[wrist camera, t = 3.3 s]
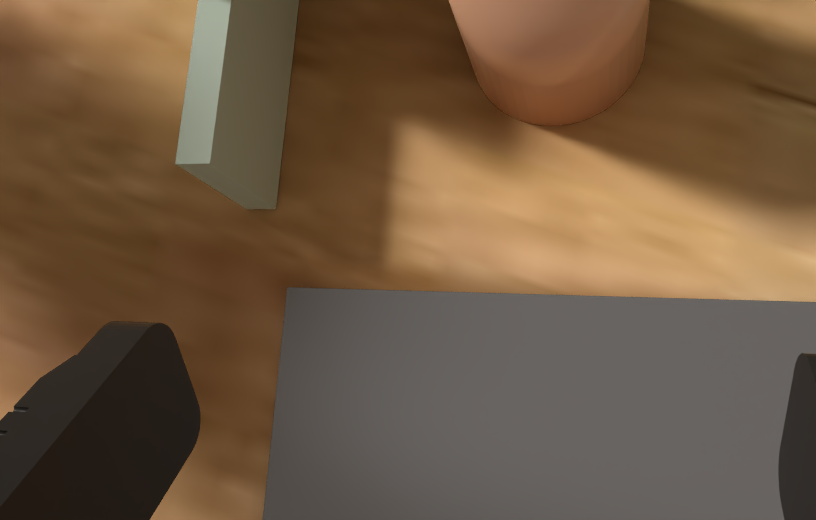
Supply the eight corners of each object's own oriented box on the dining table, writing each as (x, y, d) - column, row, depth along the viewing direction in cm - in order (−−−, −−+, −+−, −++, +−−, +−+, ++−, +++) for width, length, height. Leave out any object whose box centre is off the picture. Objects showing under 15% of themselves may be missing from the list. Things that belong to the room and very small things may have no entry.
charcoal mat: (255, 652, 25) (248, 657, 24) (292, 289, 27) (287, 287, 27) (876, 752, 20) (882, 760, 20) (853, 306, 23) (859, 303, 22)
